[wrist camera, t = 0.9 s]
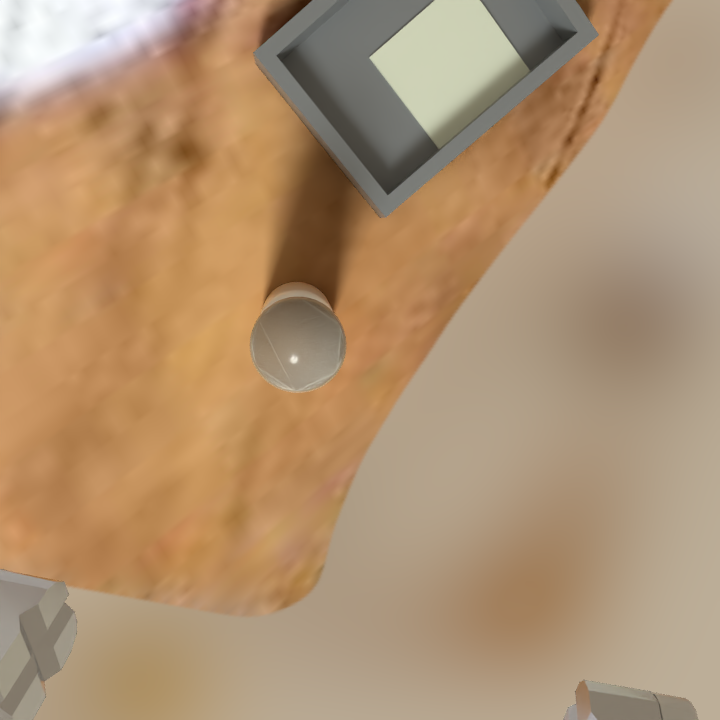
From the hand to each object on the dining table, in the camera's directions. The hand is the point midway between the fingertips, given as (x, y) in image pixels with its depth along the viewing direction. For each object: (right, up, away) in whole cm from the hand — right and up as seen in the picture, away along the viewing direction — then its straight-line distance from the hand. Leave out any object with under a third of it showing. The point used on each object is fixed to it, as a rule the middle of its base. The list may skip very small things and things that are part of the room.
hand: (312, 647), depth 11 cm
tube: (-4, +8, +38) cm, 39 cm away
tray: (+5, +25, +35) cm, 43 cm away
